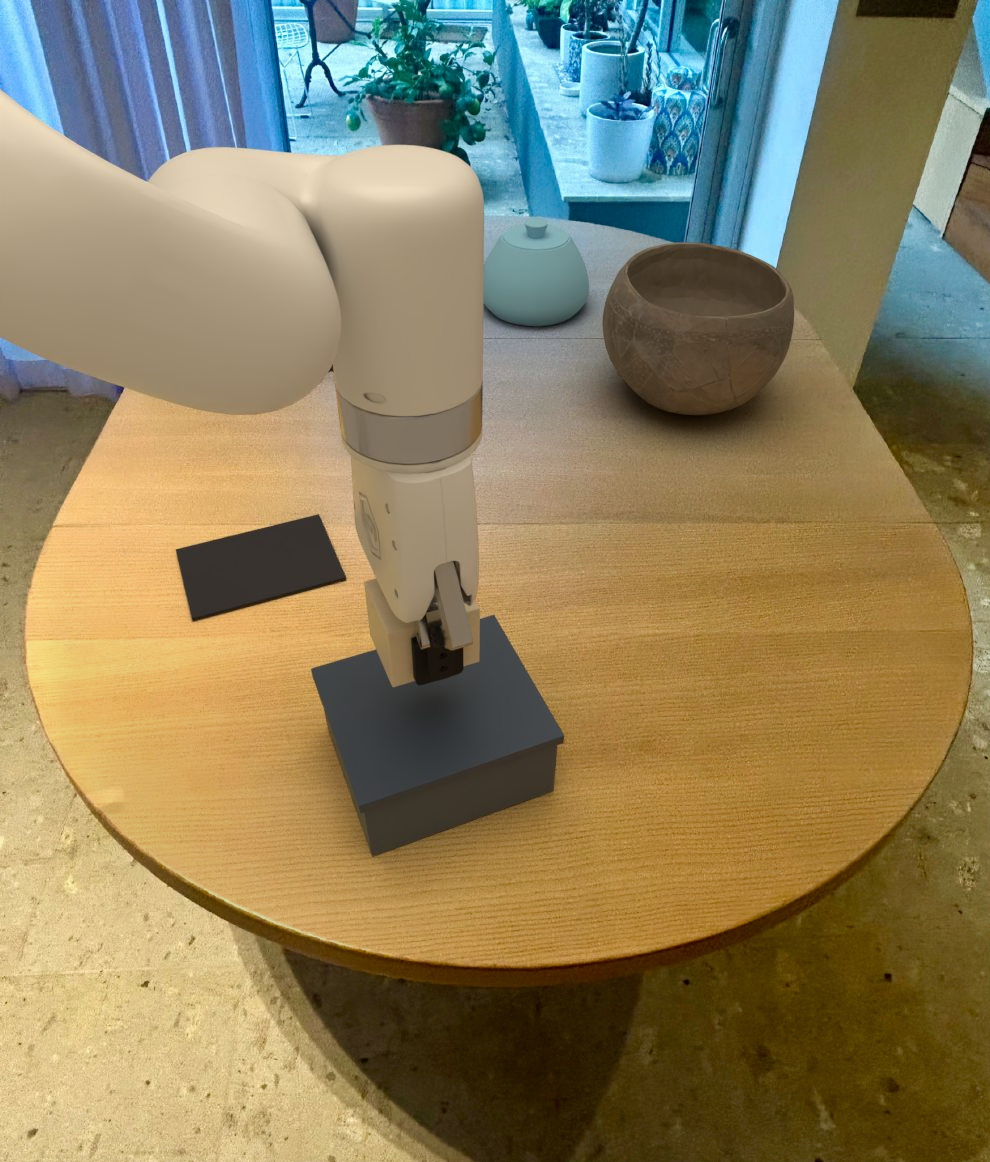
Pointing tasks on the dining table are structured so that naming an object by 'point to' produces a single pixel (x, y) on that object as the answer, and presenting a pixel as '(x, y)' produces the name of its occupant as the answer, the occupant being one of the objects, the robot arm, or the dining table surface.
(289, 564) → the mat
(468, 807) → the storage box
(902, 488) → the dining table surface
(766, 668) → the dining table surface
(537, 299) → the sugar bowl
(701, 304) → the bowl
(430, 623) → the small box
